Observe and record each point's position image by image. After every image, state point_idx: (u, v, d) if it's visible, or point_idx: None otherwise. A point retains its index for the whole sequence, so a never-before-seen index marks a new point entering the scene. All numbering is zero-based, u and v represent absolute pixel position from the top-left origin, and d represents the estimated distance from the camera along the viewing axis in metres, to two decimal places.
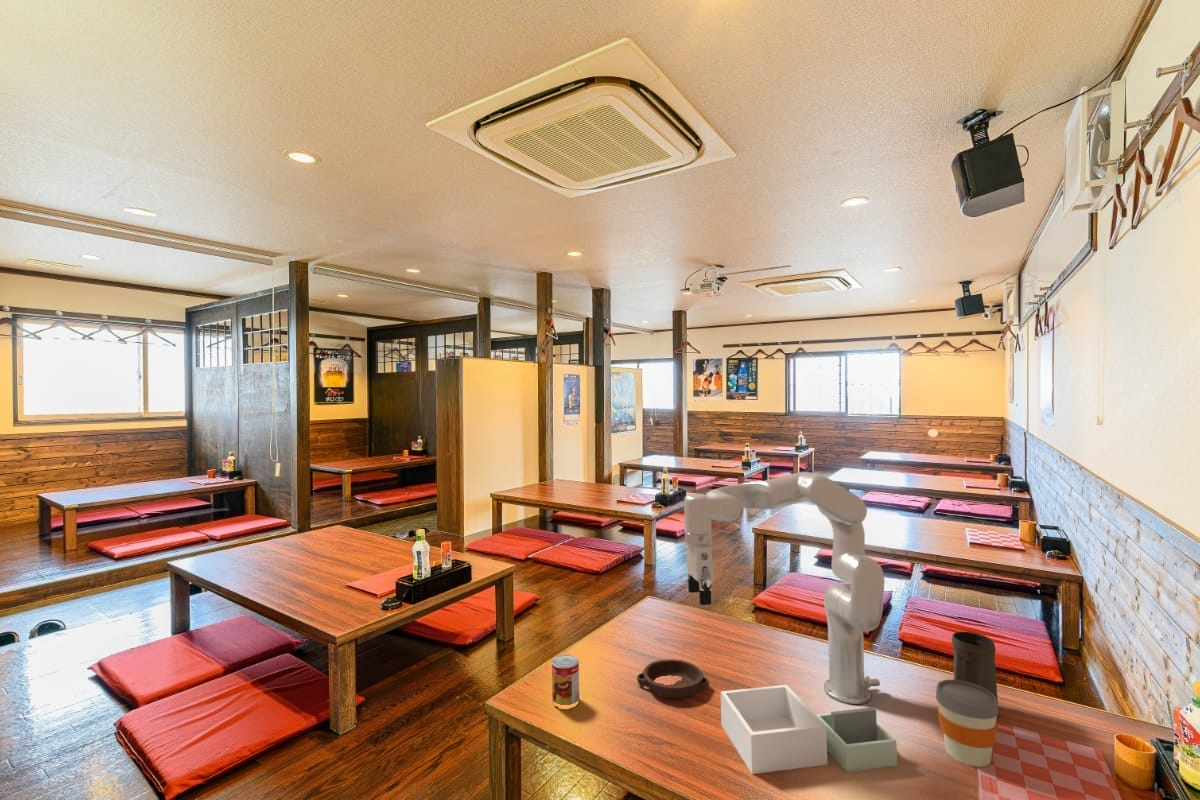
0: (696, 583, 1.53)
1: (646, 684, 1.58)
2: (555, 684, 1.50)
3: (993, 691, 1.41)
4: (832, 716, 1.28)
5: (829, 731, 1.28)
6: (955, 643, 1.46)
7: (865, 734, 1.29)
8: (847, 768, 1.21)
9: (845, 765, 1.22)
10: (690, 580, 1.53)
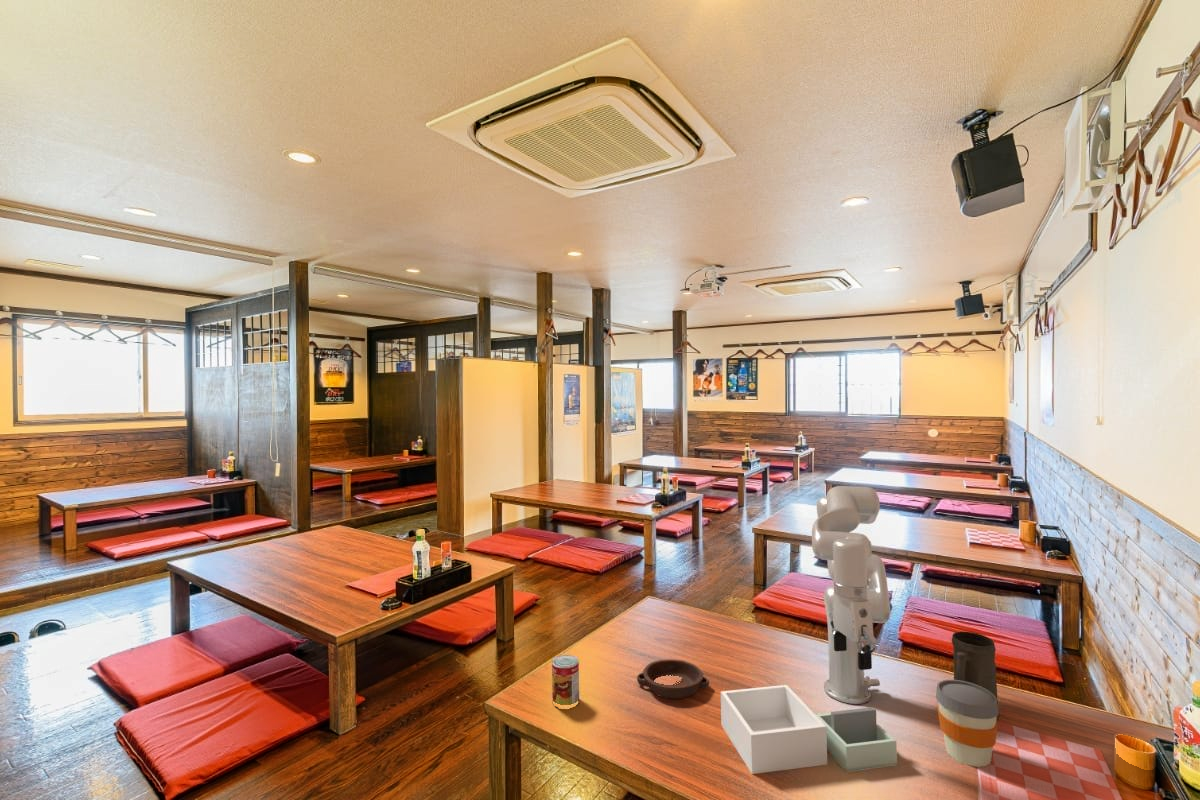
0: (843, 640, 1.33)
1: (646, 684, 1.58)
2: (555, 684, 1.50)
3: (993, 691, 1.41)
4: (832, 716, 1.28)
5: (829, 731, 1.28)
6: (955, 643, 1.46)
7: (865, 734, 1.29)
8: (847, 768, 1.21)
9: (845, 765, 1.22)
10: (836, 637, 1.33)
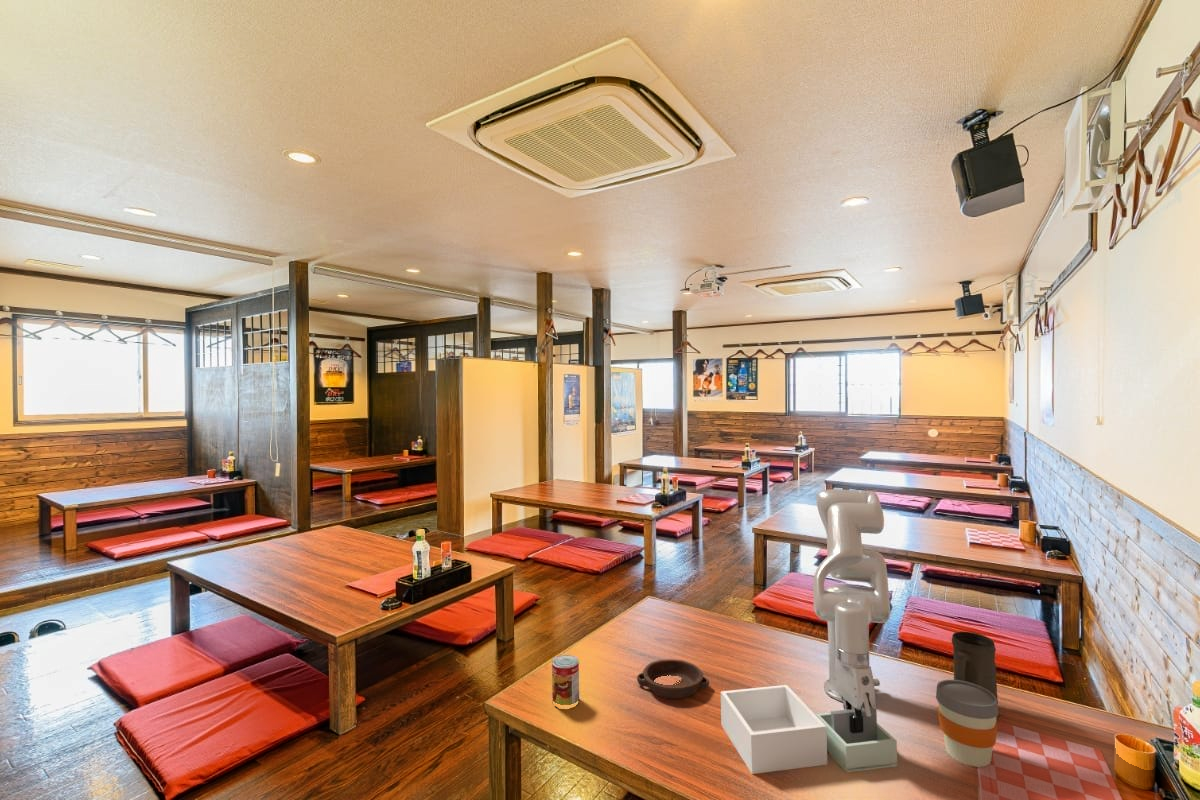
0: None
1: (646, 684, 1.58)
2: (555, 684, 1.50)
3: (993, 691, 1.41)
4: (832, 715, 1.28)
5: (829, 731, 1.28)
6: (955, 643, 1.46)
7: (865, 734, 1.28)
8: (847, 768, 1.21)
9: (845, 765, 1.22)
10: None
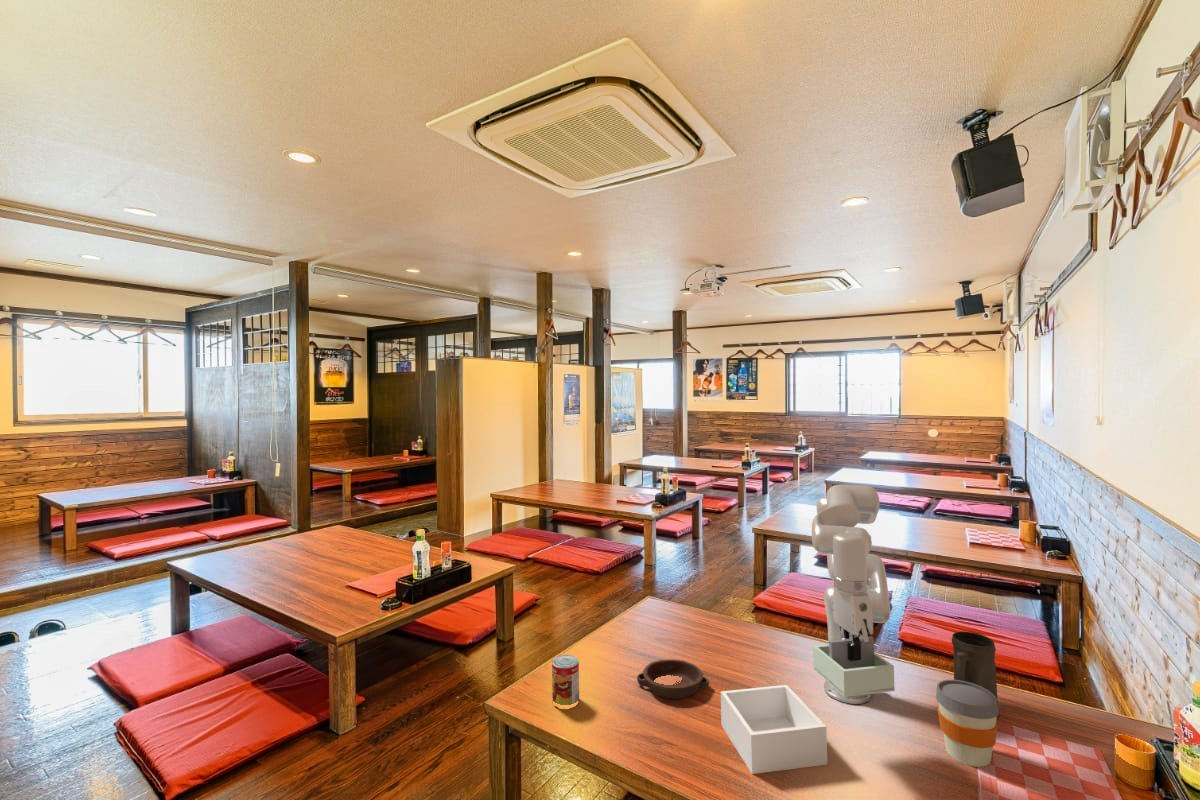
0: None
1: (646, 684, 1.58)
2: (555, 684, 1.50)
3: (993, 691, 1.41)
4: (830, 644, 1.28)
5: (827, 659, 1.28)
6: (955, 643, 1.46)
7: (863, 662, 1.29)
8: (845, 692, 1.22)
9: (843, 689, 1.22)
10: None
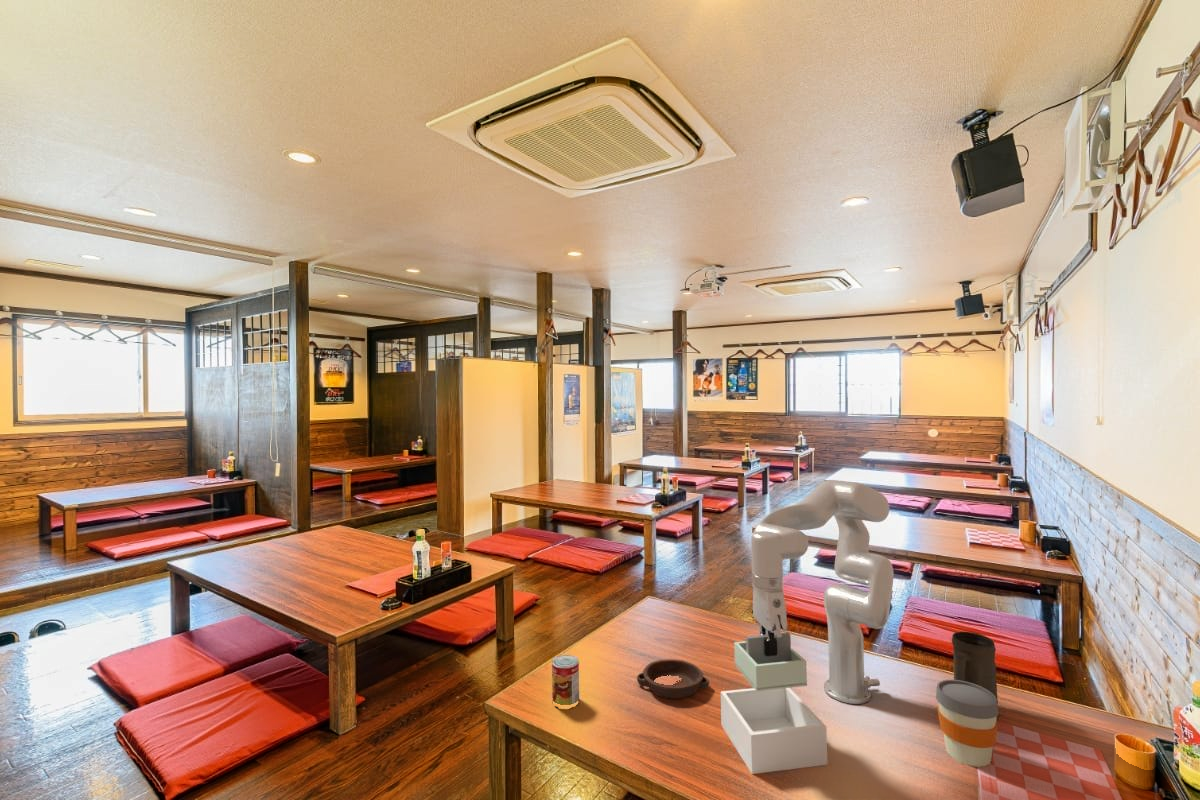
0: None
1: (646, 684, 1.58)
2: (555, 684, 1.50)
3: (993, 691, 1.41)
4: (747, 640, 1.31)
5: (744, 655, 1.31)
6: (955, 643, 1.46)
7: (779, 658, 1.32)
8: (757, 687, 1.25)
9: (755, 684, 1.25)
10: None
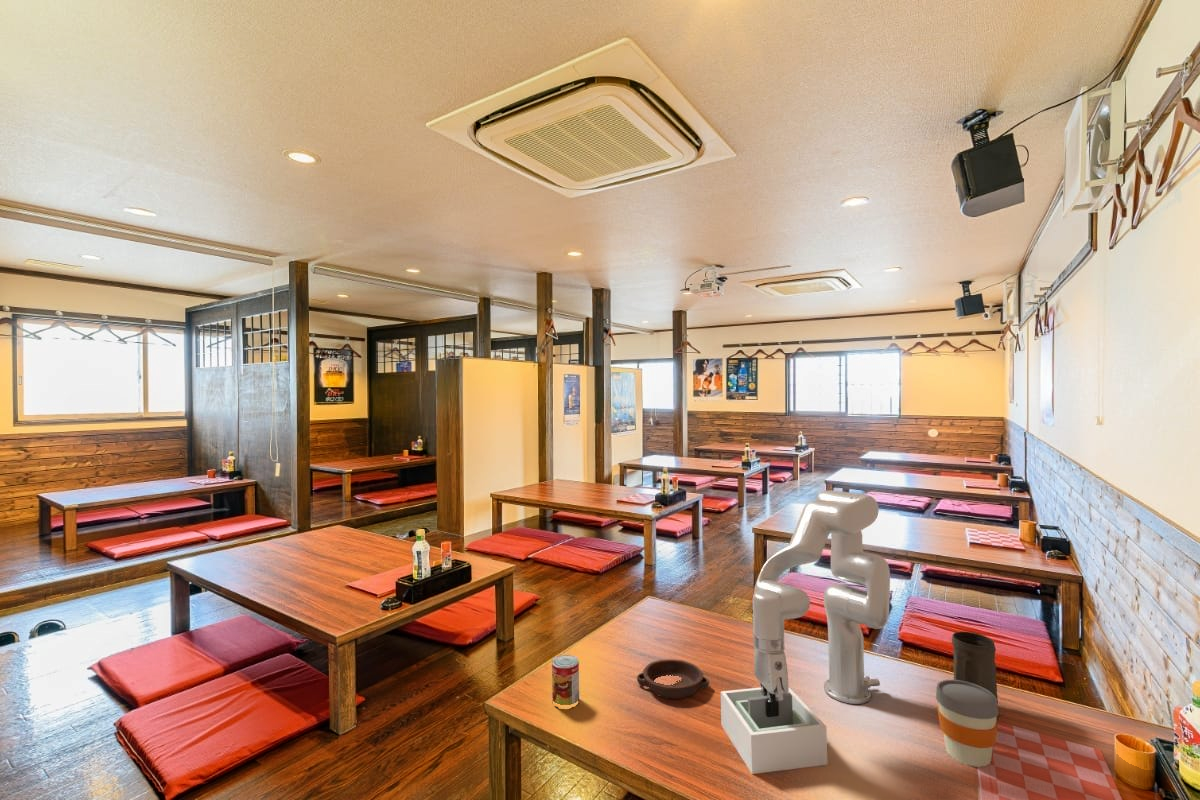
0: None
1: (646, 684, 1.58)
2: (555, 684, 1.50)
3: (993, 691, 1.41)
4: (748, 702, 1.31)
5: (745, 716, 1.31)
6: (955, 643, 1.46)
7: (781, 719, 1.32)
8: None
9: None
10: None
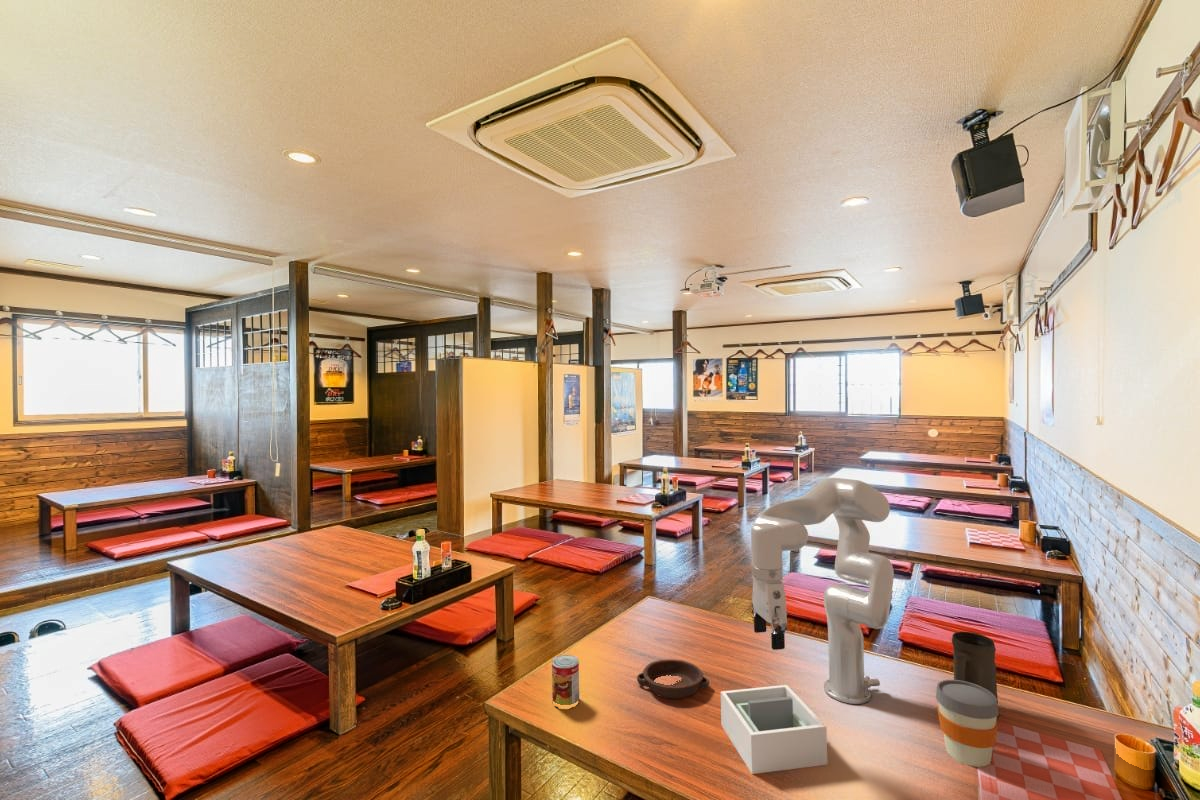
0: (763, 622, 1.37)
1: (646, 684, 1.58)
2: (555, 684, 1.50)
3: (993, 691, 1.41)
4: (749, 705, 1.31)
5: (746, 719, 1.31)
6: (955, 643, 1.46)
7: (781, 722, 1.32)
8: None
9: None
10: (756, 619, 1.37)
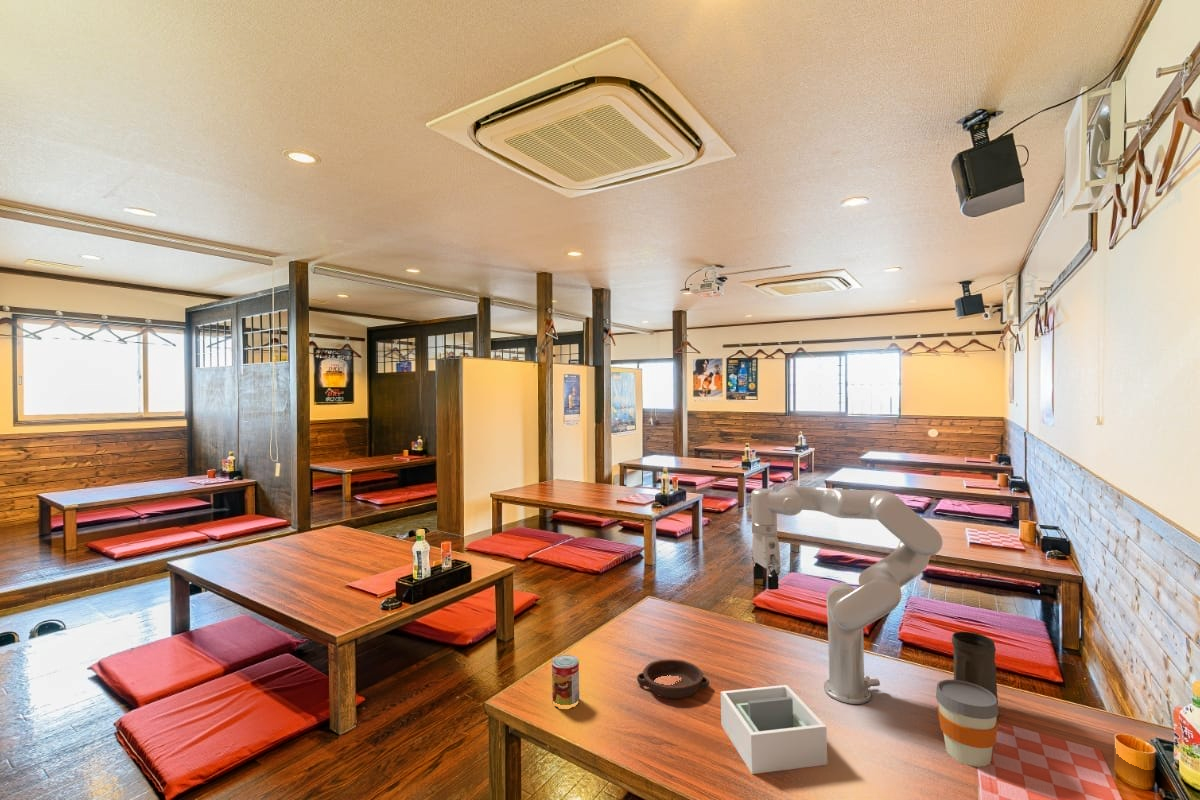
0: (761, 570, 1.67)
1: (646, 684, 1.58)
2: (555, 684, 1.50)
3: (993, 691, 1.41)
4: (749, 705, 1.31)
5: (746, 719, 1.31)
6: (955, 643, 1.46)
7: (781, 722, 1.32)
8: None
9: None
10: (755, 568, 1.66)
